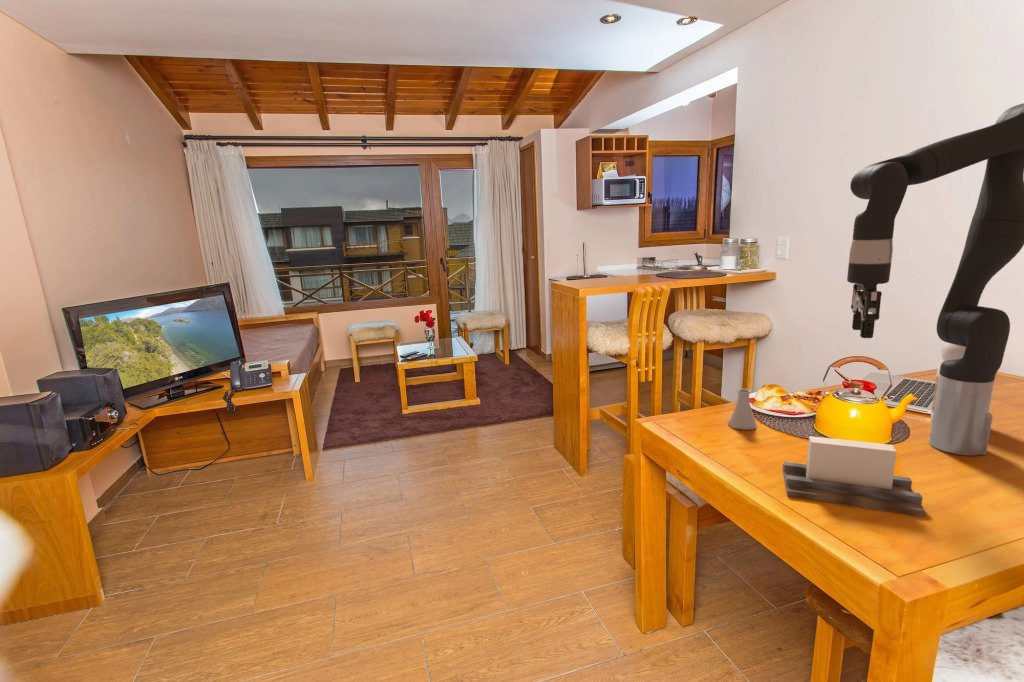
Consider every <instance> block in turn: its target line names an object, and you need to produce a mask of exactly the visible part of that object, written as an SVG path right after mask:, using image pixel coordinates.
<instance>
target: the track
mask: <svg viewBox="0 0 1024 682" xmlns="http://www.w3.org/2000/svg"><path fill="white" fill-rule="evenodd" d="M806 468H807V463H806V464H805V463H796V462H790V461H789V462H788V461H784V462H783V463H782V475H783V478H784V479H783V481H784V487H785V492H786V496H787V497H791V498H792V497H793V498H797V499H798V498H800V499H803V500H805V499H806V500H812V501H818V502H819V501H820V502H826V503H830V504H831V503H832V504H839V505H844V504H845V505H846V506H850V505H851V506H850V507H857V506H859V508H864V509H871V510H879V511H885V512H892V513H897V512H899V513H898V514H903V513H904V515H910V516H918V517H923V518H924V517H925V514H926V509H925V508H924V506H923V505H922V503H923V496H922V495H921V493H920V492H914V491H913V489H912V485H913V484H912V483H913V481H912V480H911V478H910V477H908V476H907V477H906V476H898V475H894V476H893V483H892V489H885V488H878V487H870V486H863V485H856V484H848V483H841V482H834V481H826V480H819V479H812V478H806Z"/></svg>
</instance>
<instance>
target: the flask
mask: <svg viewBox="0 0 1024 682" xmlns="http://www.w3.org/2000/svg"><path fill="white" fill-rule="evenodd" d="M737 393H738V396H737V400H736V403H735V407H734V410H733V411H732V413H731V416H730V418H729V420H728V422H727V424H728V425H729V426H730V427H731V428H733V429H735V430H744V431H748V430H755V429H756V428H757V421H756V419H755V416H754V414H753V409H752V407H751V404H750V402H751V401H750V394H751V390H750V389H748V388H738V389H737Z"/></svg>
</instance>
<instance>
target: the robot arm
mask: <svg viewBox="0 0 1024 682" xmlns="http://www.w3.org/2000/svg"><path fill="white" fill-rule="evenodd" d="M984 161H986V164H985V165H986V166H985V172H984V176H983V180H982V184H981V188H980V191H979V195H978V199H977V202H976V203H977V204H976V208H975V210H974V212H973V216H972V218H971V221H970V225H969V227H968V232H967V236H966V239H965V244H964V247H963V252H962V254H961V257H960V260H959V264H958V266H957V270H956V273H955V275H954V278H953V281H952V284H951V286H950V288H949V291H948V293H947V296H946V298H945V300H944V302H943V304H942V307H941V309H940V312H939V313H938V318H937V321H936V333H937V336H938V338H939V339H940V340H941V341H942V342H944V343H945V342H947V343H951V344H955V345H959V346H964V347H966V349H965V352H964V355H963V357H962V358H961V359H953V360H946V361H944V362H942V361H941V362H942V364H941V366H940V372H939V378H938V386H937V392H936V399H935V406H934V412H933V419H931V420H932V421H931V427H930V432H929V440H928V441H929V444H930V445H931V446H932V447H933V448H935V449H937V450H939V451H943V452H944V453H945V452H946V453H949V454H954V455H958V456H959V455H960V456H970V457H971V456H979V455H982V456H983V455H984V456H987V450H988V447H989V446H988V445H989V441H990V439H989V438H990V434H991V428H992V423H993V418H994V417H993V414H992V413H991V412H990V407H991V402H992V398H993V397H992V396H993V391H994V385H995V379H996V375H997V373H998V371H999V370H1000V368H1001V366H1002V363H1003V359H1004V356H1005V351H1006V348H1007V343H1008V340H1009V335H1010V331H1011V321H1010V317H1009V316H1008V314H1007V312H1005V311H1003V310H1001V309H999V308H998V309H997V308H995V307H994V308H993V307H987V306H980V305H979V303H980V299H981V297H982V294H983V292H984V290H985V288H986V286H987V284H988V283H989V282H990V281H991V279H992V278H994V276H996V275H997V274H998V273H999V272H1000V271H1001V270H1002V269H1003V268H1004V267H1005V266H1006V265H1007V264H1008V263H1010V262H1011V261H1012V260H1013V259H1014V258H1015V257H1016V256H1017V255H1018V254H1019V252H1020V251H1021V250H1022V249H1023V247H1024V102H1023V103H1019V104H1017V105H1016V104H1015V105H1014V106H1011V107H1009V108H1008V109H1005V110H1004V111H1003V112H1002V113H1001V114H1000V116H998V118H997V120H996V121H995V123H994V124H991V125H989V126H986V127H983V128H980V129H976V130H972V131H969V132H966V133H962V134H957V135H955V136H952V137H949V138H945V139H941V140H939V141H936V142H934V143H931V144H928V145H925V146H923V147H920V148H917V149H914V150H912V151H910V152H908V153H905V154H902V155H900V156H896V157H892V158H889V159H885V160H882V161H878V162H875V163H872V164H870V165H866V166H864V167H862V168H860V169H859V170H858V171H857V172H856V173H855V174H854V175H853V177H852V178H851V181H850V184H849V186H850V191H851V194H853V196H855V197H856V198H858V199H861V200H868V202H867V204H866V207H865V210H864V211H862V212H860V213H857V214H856V217H854V222H853V234H852V241H851V245H850V249H849V257H848V266H847V267H848V268H847V277H846V281H847V282H848V283H850V284H853V285H852V286H853V287H852V299H851V305H850V308H851V312H852V314H853V315H852V322H851V323H852V325H851V328H852V330H853V331H860V332H859V333H860V335H859V337H861V338H862V339H872V338H873V337H874V332H875V324H876V323H875V322H877V321H879V319H880V313H881V312H880V311H881V310H880V309H881V301H882V295H883V294H882V291H880V290H879V291H878V287H877V286H878V285H884V284H888V283H889V282H890V277H891V267H892V260H893V250H894V247H893V246H894V245H893V244H894V243H893V237H894V230H895V221H896V217H897V215H898V213H899V211H900V209H901V206H902V204H903V200H904V199H905V195H906V194H907V193H906V192H907V189H908V186H915V185H920V184H924V183H927V182H930V181H933V180H936V179H937V178H941V177H944V176H946V175H949V174H951V173H954V172H956V171H957V172H958V171H960V170H962V169H965V168H967V167H970V166H972V165H973V166H974V165H976V164H978V163H981V162H984Z"/></svg>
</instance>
